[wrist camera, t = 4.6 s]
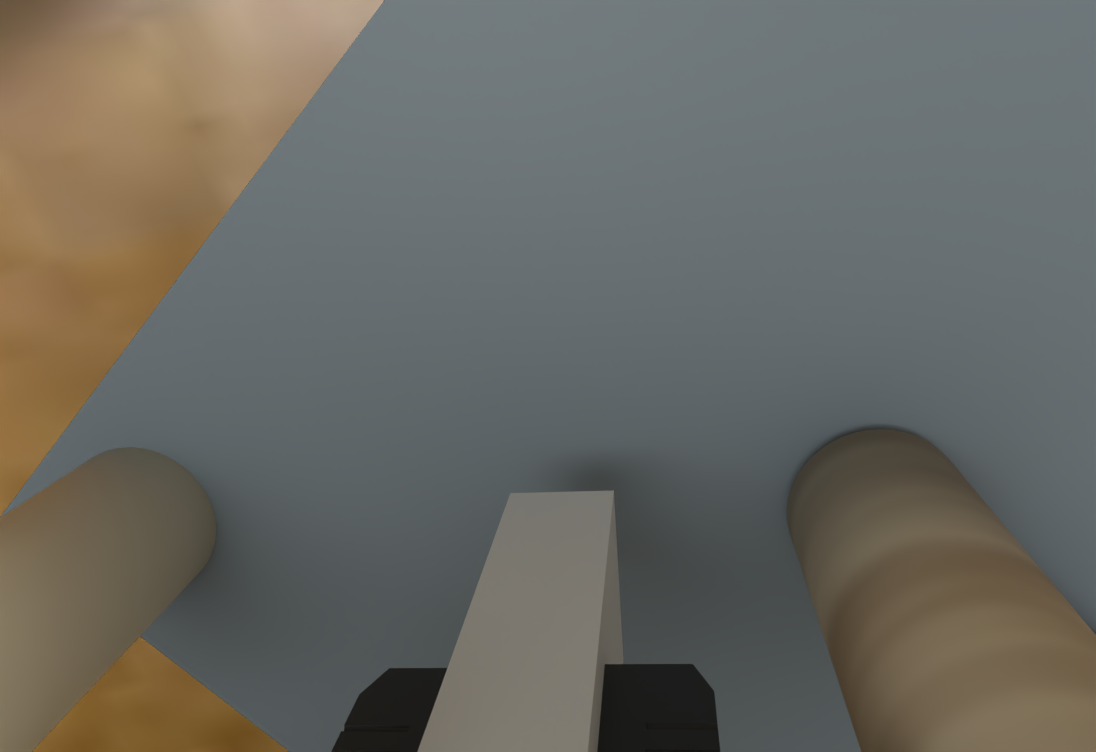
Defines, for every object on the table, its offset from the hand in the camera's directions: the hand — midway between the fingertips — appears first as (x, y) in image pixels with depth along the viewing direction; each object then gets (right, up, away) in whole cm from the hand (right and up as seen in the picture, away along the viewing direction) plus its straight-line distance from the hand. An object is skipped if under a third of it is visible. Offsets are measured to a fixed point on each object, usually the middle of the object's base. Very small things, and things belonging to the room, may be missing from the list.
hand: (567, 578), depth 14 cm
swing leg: (+8, -1, +2) cm, 8 cm away
